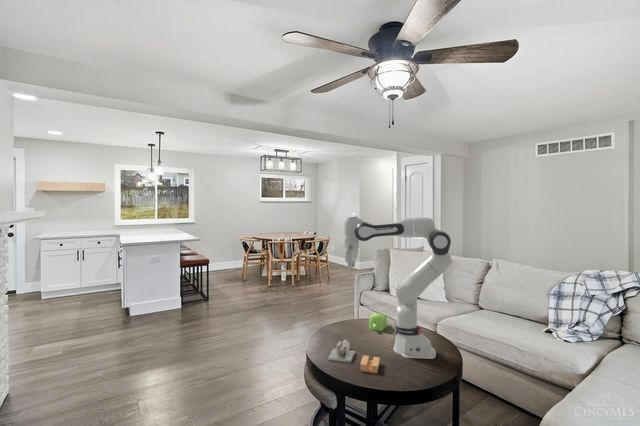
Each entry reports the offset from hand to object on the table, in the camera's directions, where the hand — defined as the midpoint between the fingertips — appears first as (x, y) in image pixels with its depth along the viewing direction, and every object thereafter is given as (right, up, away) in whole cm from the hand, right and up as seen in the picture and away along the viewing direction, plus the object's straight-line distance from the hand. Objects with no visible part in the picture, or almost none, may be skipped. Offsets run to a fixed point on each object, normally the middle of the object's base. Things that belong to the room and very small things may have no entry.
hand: (351, 268), depth 188 cm
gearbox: (+20, -45, +24) cm, 55 cm away
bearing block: (-7, -45, -16) cm, 48 cm away
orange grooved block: (+6, -45, -28) cm, 53 cm away
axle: (-5, -43, -12) cm, 45 cm away
